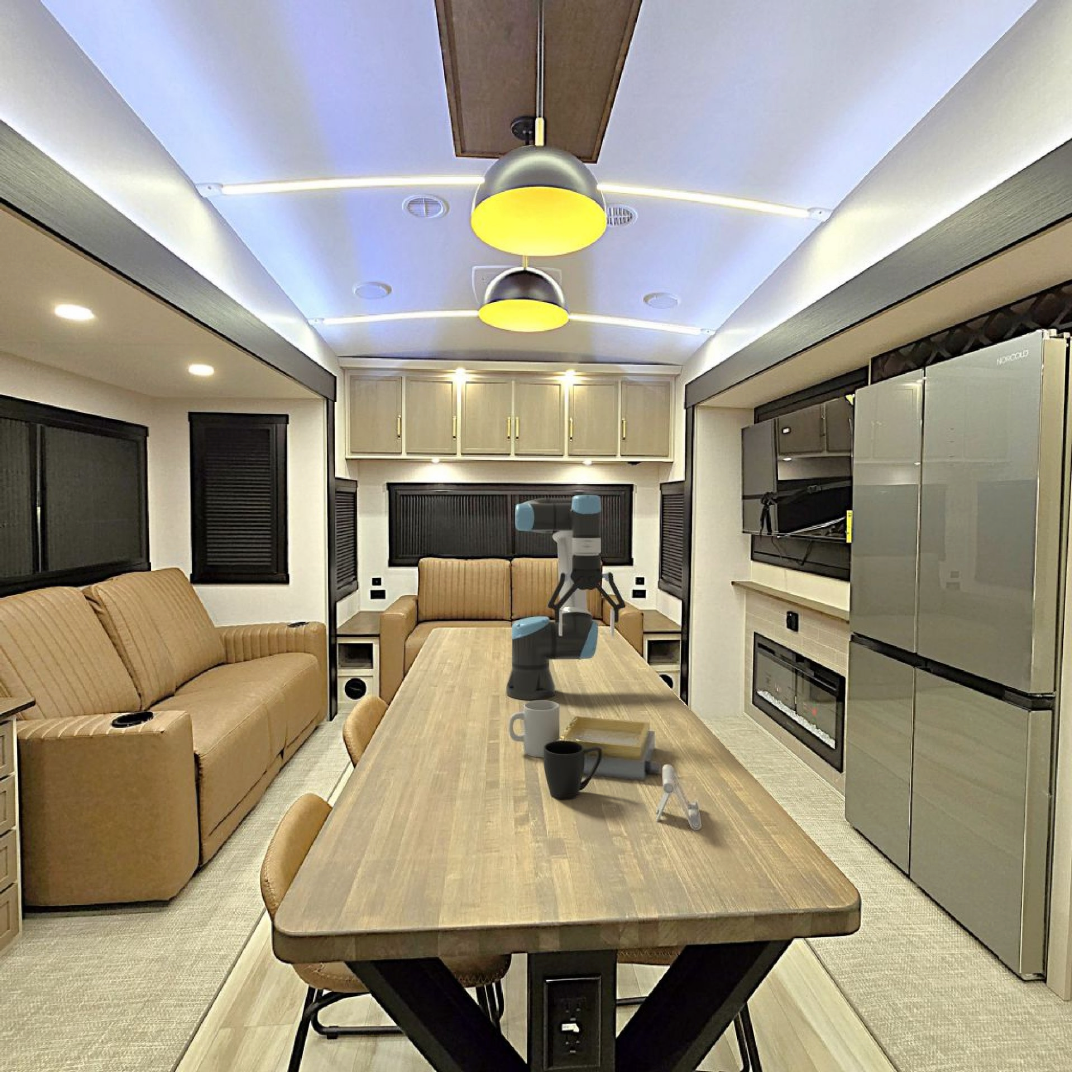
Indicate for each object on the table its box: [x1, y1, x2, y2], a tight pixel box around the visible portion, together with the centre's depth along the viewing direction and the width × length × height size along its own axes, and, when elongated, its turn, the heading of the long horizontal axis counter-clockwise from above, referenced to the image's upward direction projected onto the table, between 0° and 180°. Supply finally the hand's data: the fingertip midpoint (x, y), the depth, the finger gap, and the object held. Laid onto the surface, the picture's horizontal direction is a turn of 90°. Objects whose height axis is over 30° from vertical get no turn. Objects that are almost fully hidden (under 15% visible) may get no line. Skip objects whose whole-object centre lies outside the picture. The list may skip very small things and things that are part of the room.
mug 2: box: [543, 741, 602, 801], centre depth 134 cm, size 8×12×10 cm
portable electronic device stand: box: [655, 764, 702, 831], centre depth 123 cm, size 9×8×8 cm
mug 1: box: [508, 699, 560, 759], centre depth 157 cm, size 12×8×11 cm
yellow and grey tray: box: [558, 715, 661, 782], centre depth 152 cm, size 23×20×6 cm
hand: (586, 635), depth 175 cm, fingers open, 13 cm apart
